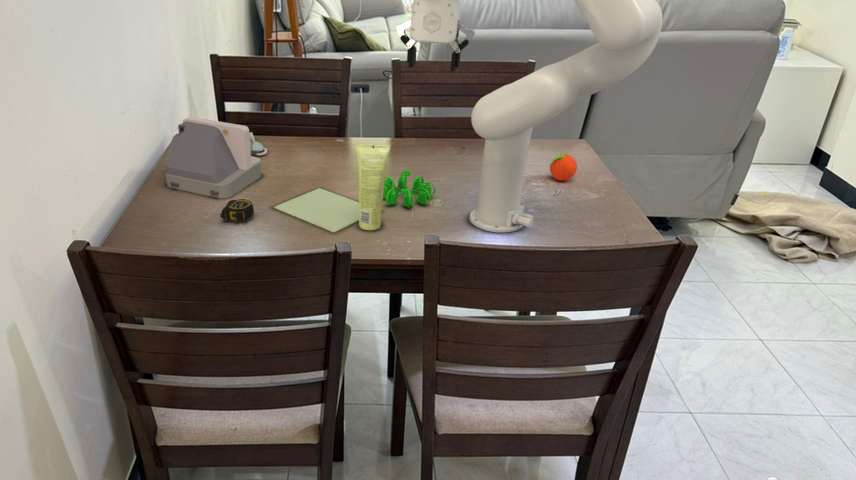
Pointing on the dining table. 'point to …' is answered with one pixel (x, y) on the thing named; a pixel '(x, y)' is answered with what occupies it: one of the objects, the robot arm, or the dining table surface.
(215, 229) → the dining table surface
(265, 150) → the pacifier
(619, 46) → the robot arm
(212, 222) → the dining table surface
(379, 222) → the tube
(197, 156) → the instant camera
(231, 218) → the tape measure
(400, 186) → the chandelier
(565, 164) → the clementine
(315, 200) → the mat
